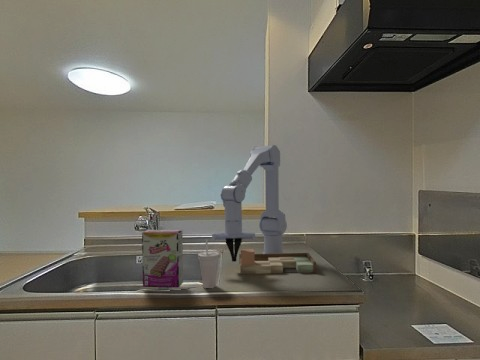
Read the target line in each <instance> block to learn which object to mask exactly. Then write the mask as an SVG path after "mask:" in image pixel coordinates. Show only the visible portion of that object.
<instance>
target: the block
mask: <svg viewBox="0 0 480 360" xmlns="http://www.w3.org/2000/svg"><path fill="white" fill-rule="evenodd" d="M240 254H241V266H252V265H255V257H254V254H255V249H254V248H243V249H242V248H241V249H240Z"/></svg>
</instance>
